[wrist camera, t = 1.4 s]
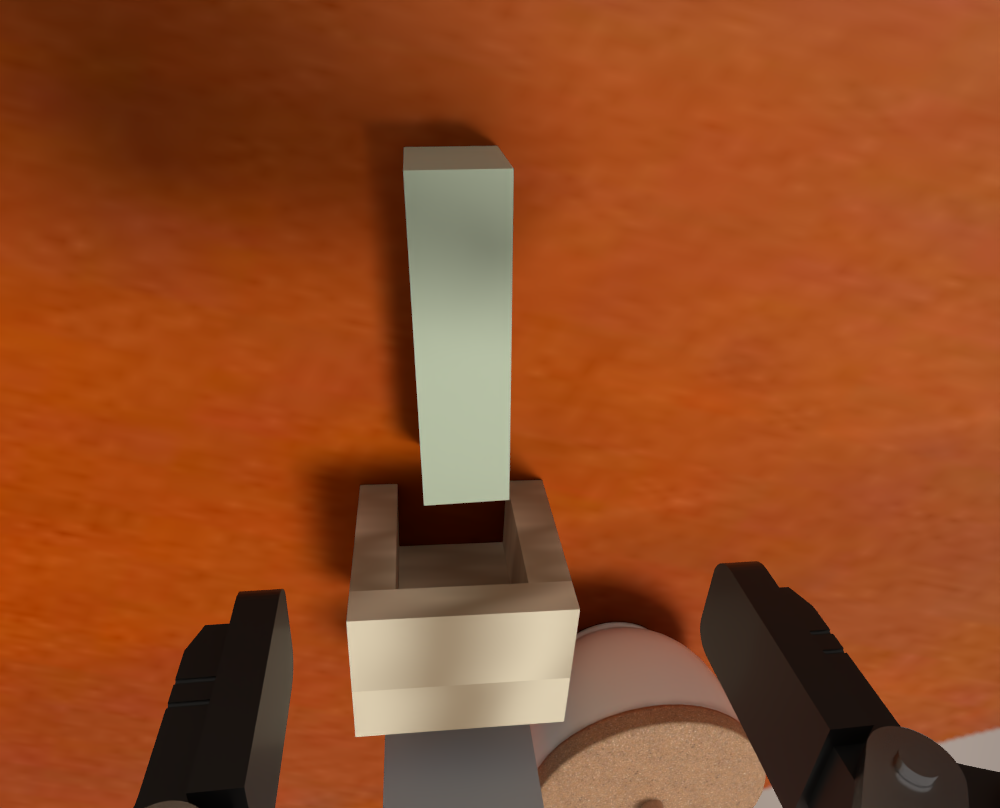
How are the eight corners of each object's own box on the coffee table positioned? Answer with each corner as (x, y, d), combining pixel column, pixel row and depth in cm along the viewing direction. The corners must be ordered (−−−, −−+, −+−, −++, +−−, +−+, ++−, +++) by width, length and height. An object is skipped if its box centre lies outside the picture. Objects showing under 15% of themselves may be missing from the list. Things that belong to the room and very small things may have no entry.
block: (542, 479, 31) (580, 609, 24) (532, 580, 34) (563, 721, 27) (360, 485, 30) (346, 621, 23) (366, 588, 33) (355, 736, 26)
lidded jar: (570, 751, 41) (610, 933, 33) (469, 653, 36) (488, 840, 28) (732, 669, 39) (818, 841, 31) (650, 554, 34) (727, 724, 26)
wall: (509, 611, 34) (544, 810, 26) (507, 639, 35) (540, 840, 27) (388, 617, 34) (382, 824, 25) (390, 646, 35) (384, 855, 26)
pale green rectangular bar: (496, 144, 24) (513, 168, 20) (496, 438, 30) (509, 499, 26) (403, 146, 24) (403, 170, 20) (421, 442, 29) (423, 505, 26)
